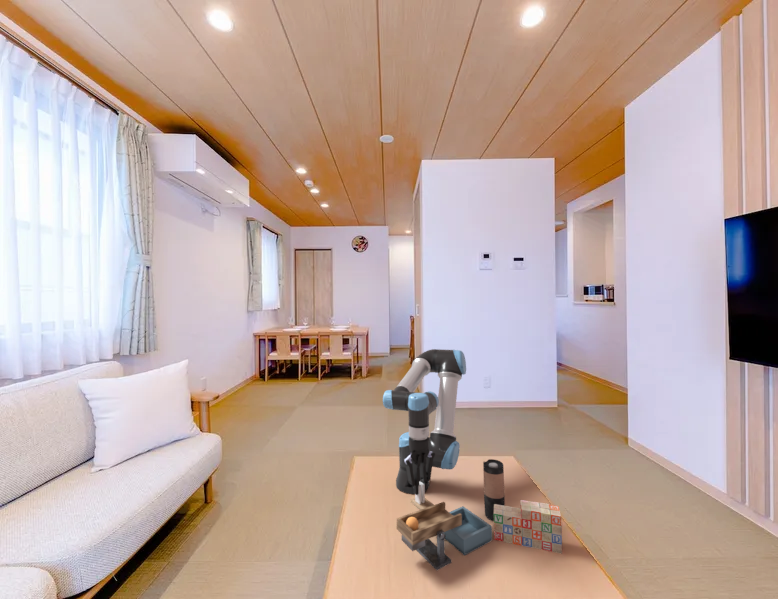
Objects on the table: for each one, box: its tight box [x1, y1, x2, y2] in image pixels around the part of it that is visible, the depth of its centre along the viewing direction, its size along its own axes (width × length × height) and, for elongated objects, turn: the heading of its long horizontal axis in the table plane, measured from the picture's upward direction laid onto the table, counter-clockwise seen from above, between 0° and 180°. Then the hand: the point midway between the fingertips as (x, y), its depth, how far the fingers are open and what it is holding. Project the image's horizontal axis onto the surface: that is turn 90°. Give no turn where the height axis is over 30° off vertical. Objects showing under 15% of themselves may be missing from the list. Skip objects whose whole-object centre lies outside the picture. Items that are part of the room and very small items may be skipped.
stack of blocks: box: [493, 499, 563, 554], centre depth 117 cm, size 21×6×12 cm, turn 71°
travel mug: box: [482, 458, 506, 522], centre depth 131 cm, size 8×8×20 cm
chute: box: [396, 497, 462, 552], centre depth 117 cm, size 20×20×6 cm
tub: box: [444, 505, 493, 557], centre depth 120 cm, size 13×14×5 cm
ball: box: [406, 517, 419, 531], centre depth 109 cm, size 4×4×4 cm
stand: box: [416, 530, 453, 572], centre depth 112 cm, size 6×14×10 cm, turn 31°
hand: (420, 501), depth 125 cm, fingers closed
